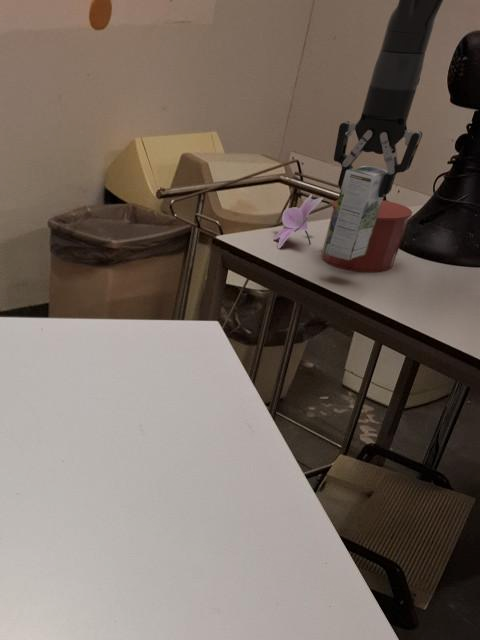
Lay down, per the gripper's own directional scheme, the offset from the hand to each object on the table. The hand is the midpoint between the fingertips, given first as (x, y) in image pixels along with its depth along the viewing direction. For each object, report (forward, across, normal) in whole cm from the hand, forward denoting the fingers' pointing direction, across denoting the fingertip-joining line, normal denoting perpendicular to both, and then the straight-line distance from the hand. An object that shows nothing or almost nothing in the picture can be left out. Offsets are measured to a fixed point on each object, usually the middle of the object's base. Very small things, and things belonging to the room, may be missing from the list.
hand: (362, 193), depth 150 cm
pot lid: (+6, -1, +15) cm, 16 cm away
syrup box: (+11, 0, 0) cm, 11 cm away
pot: (+15, -1, +15) cm, 21 cm away
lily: (+15, -16, +17) cm, 28 cm away
